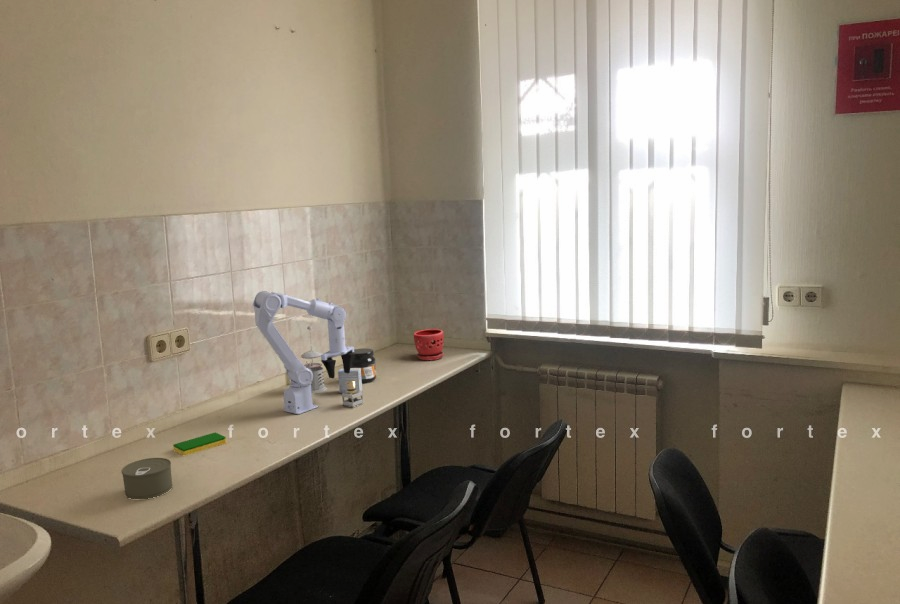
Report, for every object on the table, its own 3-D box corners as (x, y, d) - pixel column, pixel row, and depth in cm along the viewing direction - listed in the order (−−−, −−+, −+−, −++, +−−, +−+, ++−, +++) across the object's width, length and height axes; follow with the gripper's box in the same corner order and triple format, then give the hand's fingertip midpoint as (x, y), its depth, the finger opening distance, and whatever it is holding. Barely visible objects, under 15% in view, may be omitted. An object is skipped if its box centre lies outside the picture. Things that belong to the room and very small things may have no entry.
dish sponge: (173, 451, 222) (172, 444, 222) (216, 439, 232) (215, 431, 232) (183, 457, 217) (183, 449, 217) (226, 444, 227) (226, 436, 226)
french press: (330, 386, 286) (325, 323, 282) (322, 394, 274) (317, 329, 270) (305, 386, 287) (300, 323, 283) (296, 395, 275) (291, 329, 271)
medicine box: (362, 389, 279) (361, 367, 277) (359, 393, 274) (358, 370, 273) (342, 390, 279) (340, 368, 278) (339, 393, 275) (337, 371, 274)
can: (179, 480, 199) (177, 456, 198) (164, 499, 188) (161, 474, 186) (135, 482, 199) (132, 458, 198) (116, 502, 187) (113, 476, 186)
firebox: (353, 407, 257) (352, 395, 256) (343, 405, 260) (342, 393, 259) (363, 403, 261) (362, 391, 260) (353, 401, 264) (352, 389, 263)
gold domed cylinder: (352, 404, 258) (350, 382, 257) (346, 403, 260) (344, 381, 259) (359, 402, 260) (357, 380, 259) (353, 401, 262) (351, 379, 261)
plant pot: (432, 353, 332) (430, 327, 330) (450, 357, 322) (449, 331, 320) (409, 358, 324) (407, 332, 322) (427, 363, 314) (425, 336, 312)
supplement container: (372, 384, 286) (370, 354, 284) (346, 383, 288) (344, 354, 286) (379, 376, 296) (377, 347, 294) (354, 376, 298) (352, 347, 296)
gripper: (329, 343, 254) (332, 381, 256) (359, 335, 265) (361, 372, 268) (315, 341, 258) (318, 379, 261) (345, 333, 270) (347, 369, 272)
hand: (339, 375), depth 264 cm, fingers open, 7 cm apart
